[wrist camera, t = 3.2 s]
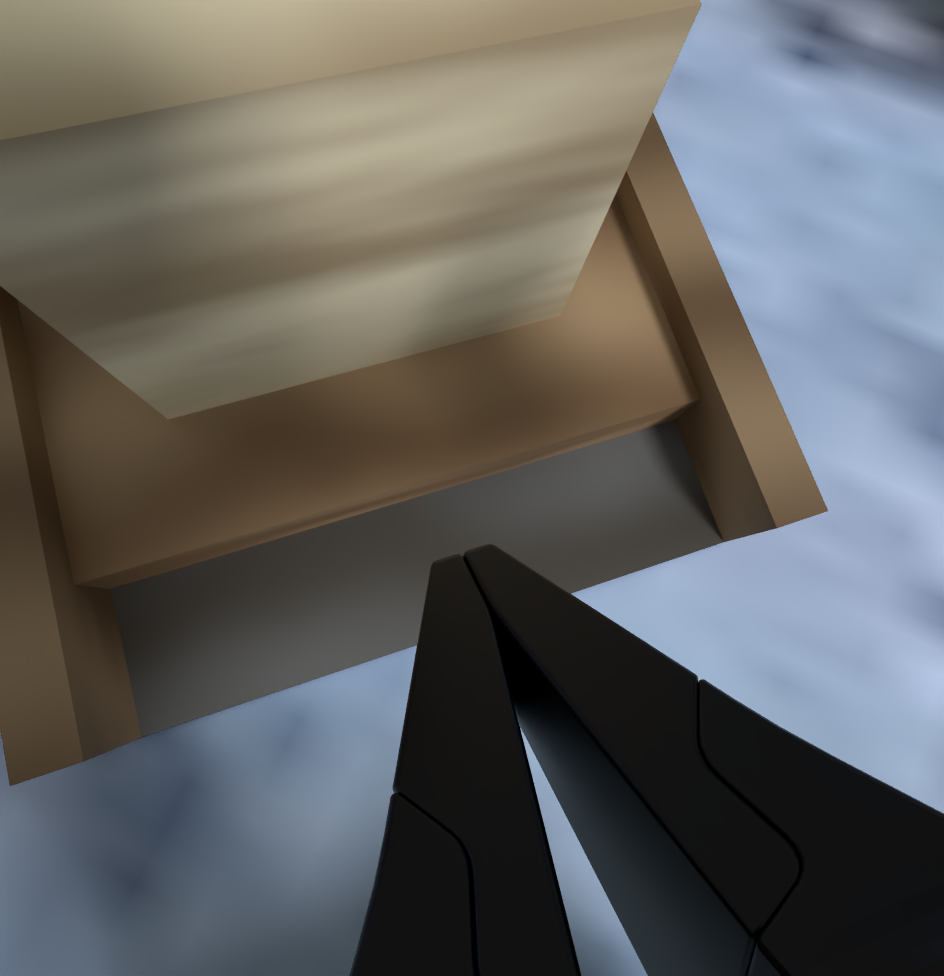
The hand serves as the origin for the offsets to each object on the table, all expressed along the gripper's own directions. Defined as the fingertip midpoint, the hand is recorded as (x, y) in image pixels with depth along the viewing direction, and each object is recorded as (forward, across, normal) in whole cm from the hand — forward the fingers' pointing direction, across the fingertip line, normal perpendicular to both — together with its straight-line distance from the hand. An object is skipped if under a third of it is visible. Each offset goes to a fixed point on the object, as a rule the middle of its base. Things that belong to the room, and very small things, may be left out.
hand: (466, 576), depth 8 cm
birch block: (+14, 0, -3) cm, 14 cm away
